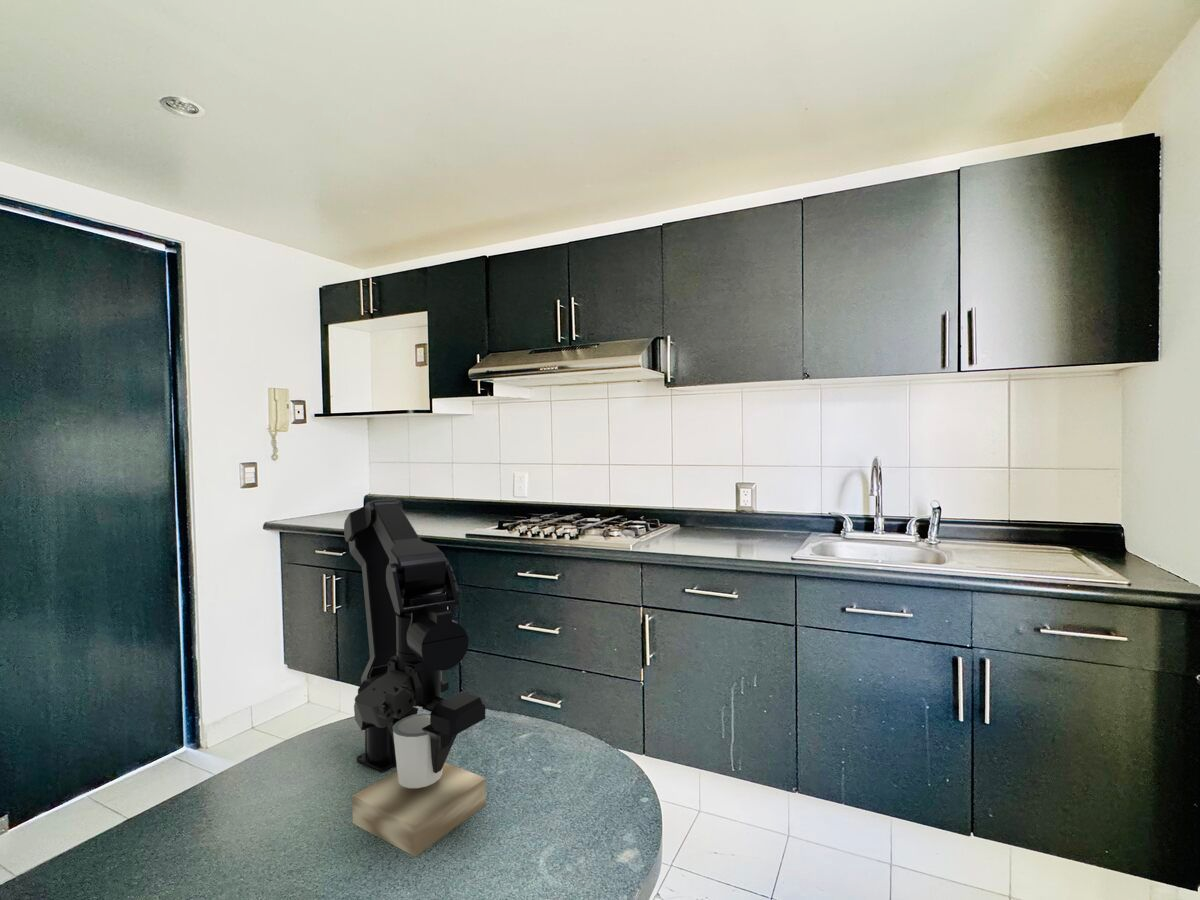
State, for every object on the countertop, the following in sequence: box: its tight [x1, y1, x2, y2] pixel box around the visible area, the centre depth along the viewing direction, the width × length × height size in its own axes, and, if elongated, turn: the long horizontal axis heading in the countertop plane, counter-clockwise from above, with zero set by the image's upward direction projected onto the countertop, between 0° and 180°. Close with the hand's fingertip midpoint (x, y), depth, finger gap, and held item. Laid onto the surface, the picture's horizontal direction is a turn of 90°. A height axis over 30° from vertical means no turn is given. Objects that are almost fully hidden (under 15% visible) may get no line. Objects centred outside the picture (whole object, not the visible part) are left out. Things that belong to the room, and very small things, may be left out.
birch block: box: [351, 762, 487, 857], centre depth 78 cm, size 12×12×4 cm
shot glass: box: [393, 712, 443, 788], centre depth 78 cm, size 7×7×7 cm
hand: (420, 764), depth 78 cm, fingers closed on shot glass, 6 cm apart
